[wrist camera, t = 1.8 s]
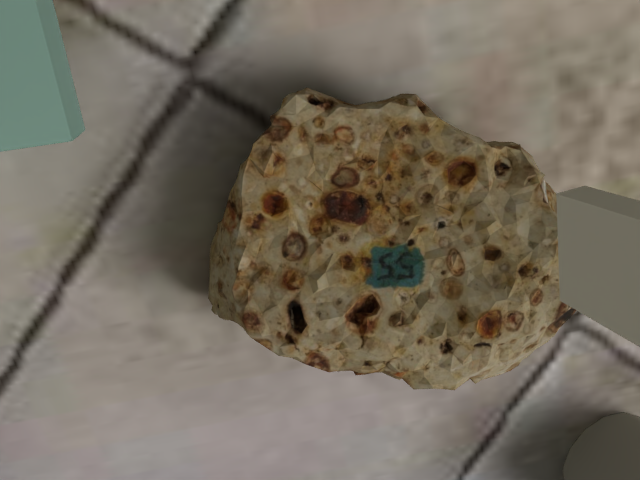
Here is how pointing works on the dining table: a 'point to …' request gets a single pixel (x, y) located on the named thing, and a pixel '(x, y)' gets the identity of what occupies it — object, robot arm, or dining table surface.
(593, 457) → the cup
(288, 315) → the rock
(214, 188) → the dining table surface
